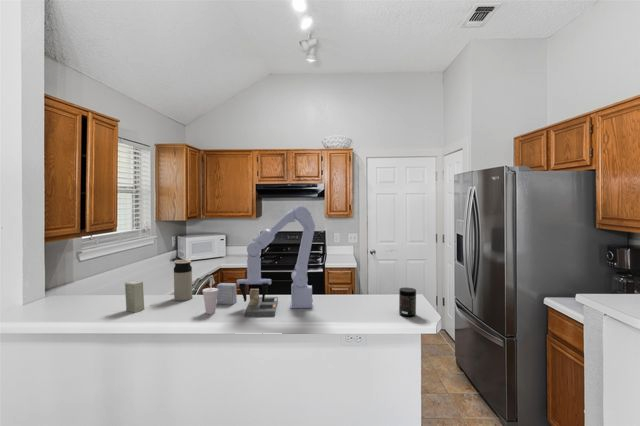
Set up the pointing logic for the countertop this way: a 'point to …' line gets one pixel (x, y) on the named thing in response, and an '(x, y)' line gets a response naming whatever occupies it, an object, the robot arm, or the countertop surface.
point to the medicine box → (226, 293)
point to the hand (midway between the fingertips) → (254, 300)
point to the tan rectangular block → (254, 296)
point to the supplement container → (407, 302)
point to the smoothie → (210, 298)
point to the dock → (262, 307)
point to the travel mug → (182, 280)
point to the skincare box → (134, 296)
